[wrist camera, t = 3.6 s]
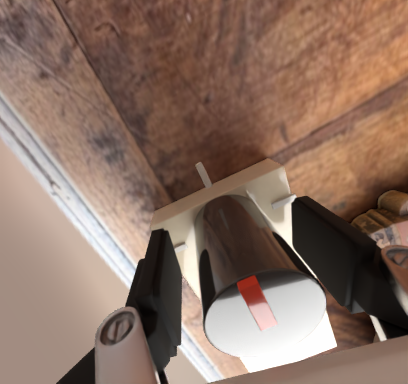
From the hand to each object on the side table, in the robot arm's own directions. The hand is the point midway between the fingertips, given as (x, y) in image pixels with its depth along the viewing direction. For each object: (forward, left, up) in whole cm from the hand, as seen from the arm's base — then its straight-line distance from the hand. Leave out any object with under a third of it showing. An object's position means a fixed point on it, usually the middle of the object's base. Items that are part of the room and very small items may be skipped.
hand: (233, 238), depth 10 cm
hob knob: (0, 0, -1) cm, 1 cm away
